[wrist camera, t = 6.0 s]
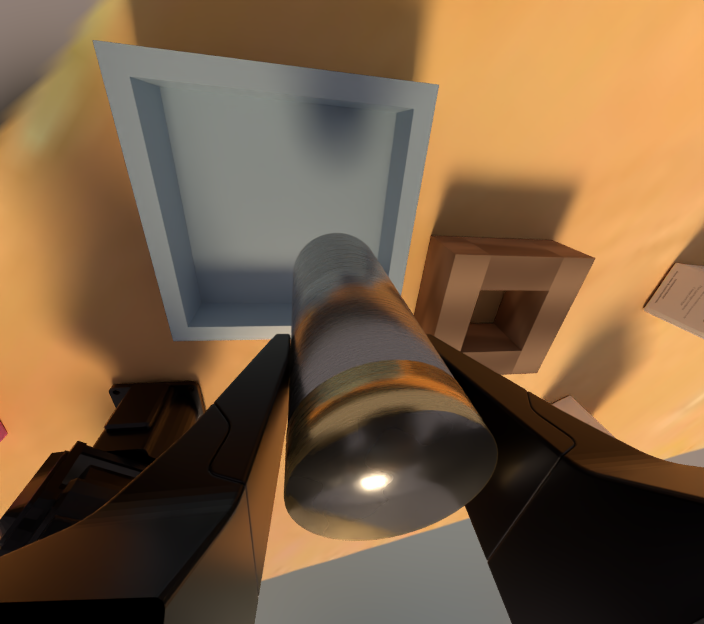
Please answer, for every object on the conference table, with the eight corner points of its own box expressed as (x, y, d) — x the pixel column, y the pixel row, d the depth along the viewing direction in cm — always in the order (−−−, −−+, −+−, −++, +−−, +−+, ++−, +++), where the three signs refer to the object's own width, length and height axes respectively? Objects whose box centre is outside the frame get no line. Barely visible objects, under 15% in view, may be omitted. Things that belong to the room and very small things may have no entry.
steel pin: (371, 312, 15) (462, 528, 7) (292, 311, 15) (284, 551, 6) (384, 235, 14) (532, 403, 5) (293, 229, 13) (283, 415, 4)
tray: (380, 308, 24) (393, 336, 21) (193, 308, 22) (173, 341, 18) (411, 94, 17) (439, 84, 14) (140, 61, 15) (92, 39, 11)
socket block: (508, 344, 28) (536, 373, 25) (407, 347, 27) (423, 378, 23) (552, 240, 23) (595, 258, 20) (431, 235, 22) (455, 254, 18)
